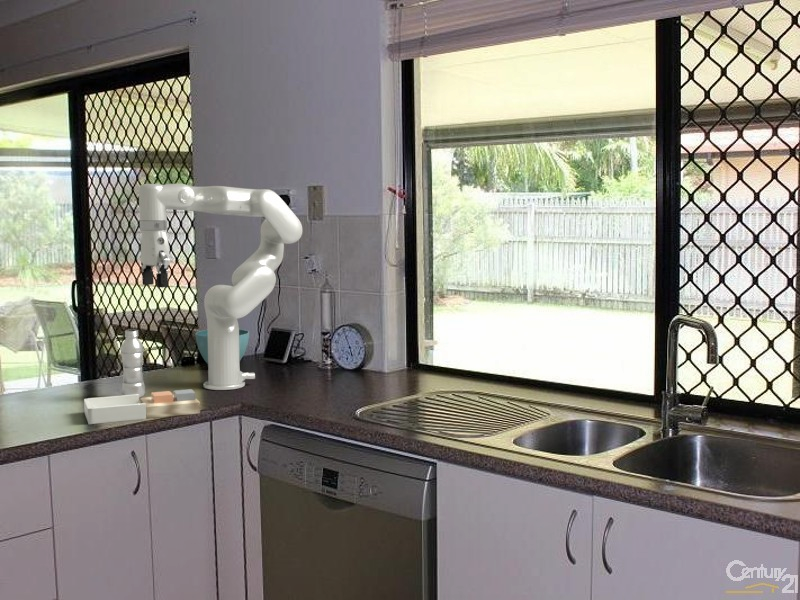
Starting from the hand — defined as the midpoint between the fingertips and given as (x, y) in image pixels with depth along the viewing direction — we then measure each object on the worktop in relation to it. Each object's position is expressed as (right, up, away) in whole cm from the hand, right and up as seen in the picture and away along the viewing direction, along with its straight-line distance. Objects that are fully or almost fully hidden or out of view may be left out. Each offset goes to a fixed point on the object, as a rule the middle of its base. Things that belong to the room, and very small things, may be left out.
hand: (155, 285), depth 256 cm
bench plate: (+8, -35, -15) cm, 38 cm away
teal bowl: (+10, -28, +49) cm, 57 cm away
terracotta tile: (+6, -32, -16) cm, 36 cm away
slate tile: (+12, -31, -14) cm, 36 cm away
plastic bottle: (-6, -33, 0) cm, 34 cm away
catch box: (-5, -35, -21) cm, 41 cm away
